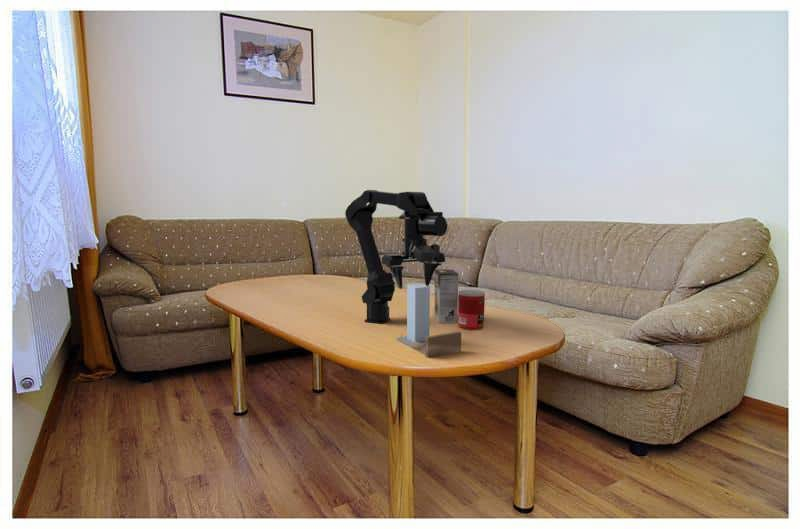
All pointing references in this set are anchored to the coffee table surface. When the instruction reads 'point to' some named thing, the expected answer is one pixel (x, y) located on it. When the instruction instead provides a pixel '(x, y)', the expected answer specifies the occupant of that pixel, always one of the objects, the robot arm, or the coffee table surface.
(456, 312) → the coffee box
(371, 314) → the robot arm
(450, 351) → the brown slab
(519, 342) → the coffee table surface
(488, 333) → the coffee table surface
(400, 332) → the coffee table surface
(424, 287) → the block
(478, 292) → the canned food
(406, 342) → the pad
